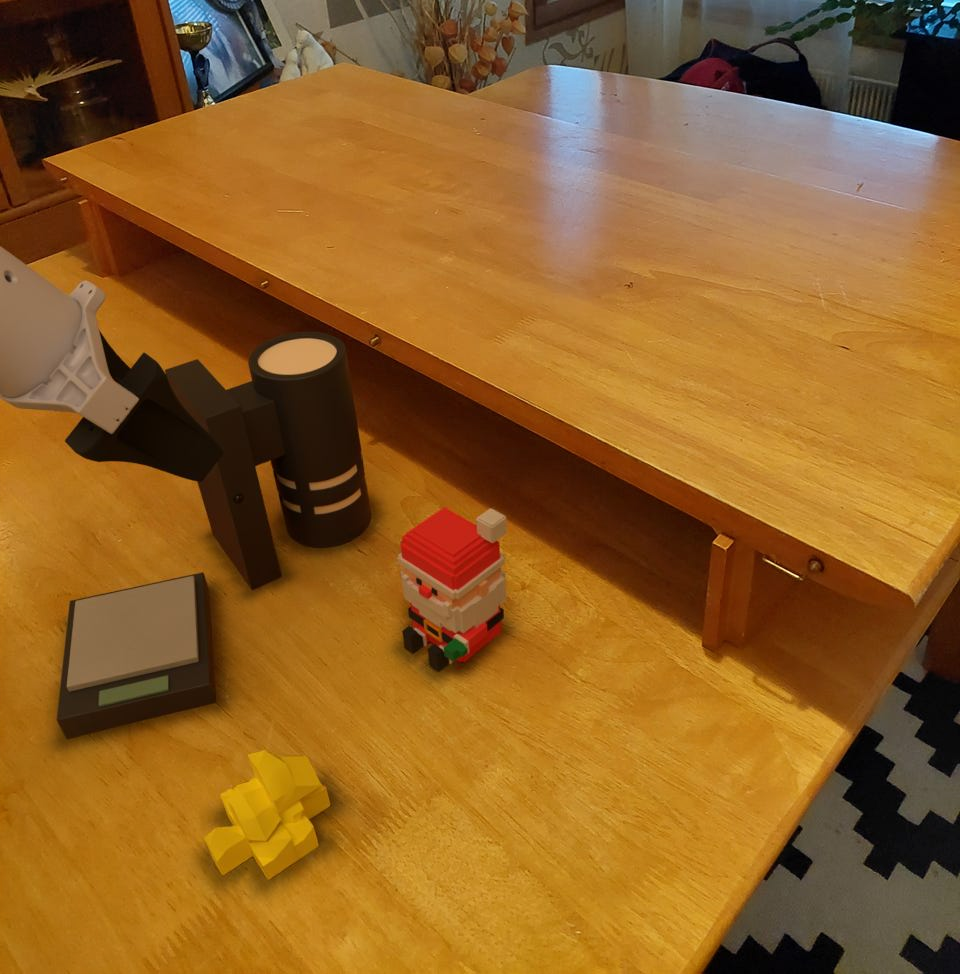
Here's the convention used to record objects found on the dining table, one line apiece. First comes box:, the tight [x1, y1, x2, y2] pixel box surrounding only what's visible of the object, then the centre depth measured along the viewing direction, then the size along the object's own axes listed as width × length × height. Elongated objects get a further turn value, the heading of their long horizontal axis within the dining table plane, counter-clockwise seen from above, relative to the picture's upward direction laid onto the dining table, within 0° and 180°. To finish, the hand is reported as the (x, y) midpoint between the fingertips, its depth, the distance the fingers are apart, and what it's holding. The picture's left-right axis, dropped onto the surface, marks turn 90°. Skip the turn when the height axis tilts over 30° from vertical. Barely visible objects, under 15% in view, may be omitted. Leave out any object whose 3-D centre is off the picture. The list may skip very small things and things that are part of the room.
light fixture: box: [164, 331, 372, 591], centre depth 81 cm, size 10×14×18 cm
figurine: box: [397, 506, 508, 672], centre depth 71 cm, size 8×7×12 cm
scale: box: [56, 571, 217, 739], centre depth 74 cm, size 13×11×3 cm
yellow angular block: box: [203, 749, 331, 881], centre depth 59 cm, size 6×8×8 cm
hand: (179, 439), depth 52 cm, fingers open, 7 cm apart
